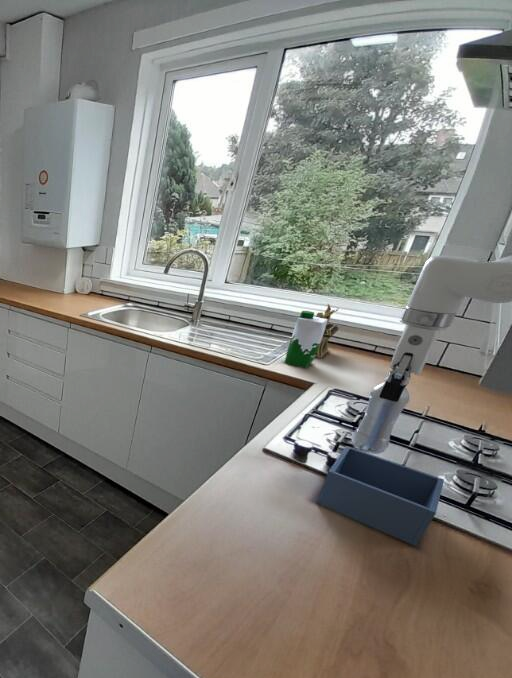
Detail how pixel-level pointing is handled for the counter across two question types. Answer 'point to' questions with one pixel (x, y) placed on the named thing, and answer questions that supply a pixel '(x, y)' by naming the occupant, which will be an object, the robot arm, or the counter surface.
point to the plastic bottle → (379, 420)
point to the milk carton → (305, 339)
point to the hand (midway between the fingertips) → (391, 394)
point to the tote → (382, 494)
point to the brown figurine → (326, 331)
